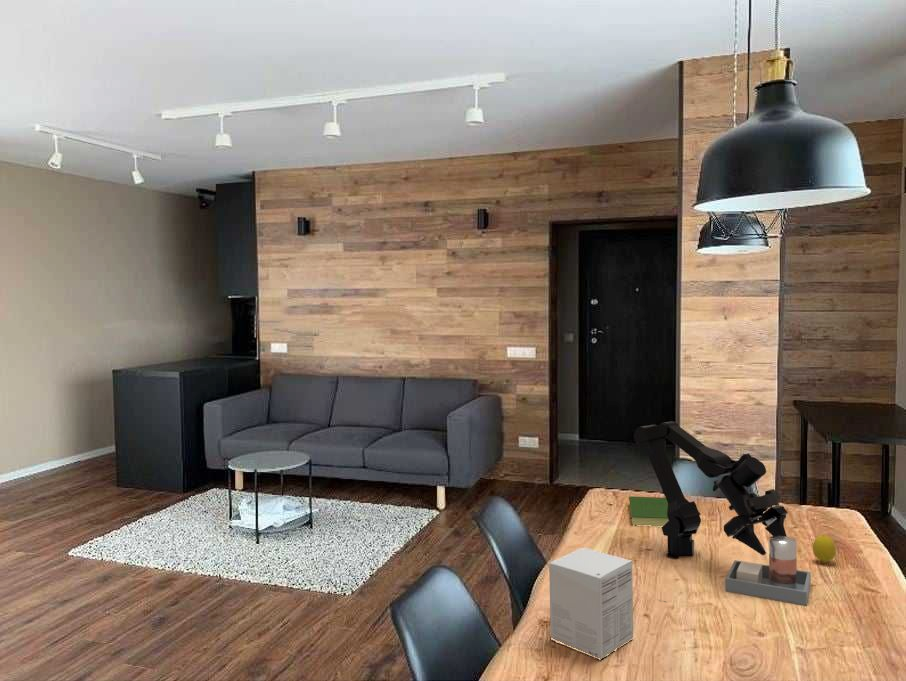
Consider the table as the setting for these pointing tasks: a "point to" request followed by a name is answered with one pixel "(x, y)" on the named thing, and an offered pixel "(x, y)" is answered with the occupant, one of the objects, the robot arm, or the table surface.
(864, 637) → the table surface
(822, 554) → the lemon
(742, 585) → the tote
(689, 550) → the robot arm
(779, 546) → the steel tin
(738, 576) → the white rectangular block
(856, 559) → the table surface
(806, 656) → the table surface
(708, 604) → the table surface
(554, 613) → the supplement box
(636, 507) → the hardcover book
